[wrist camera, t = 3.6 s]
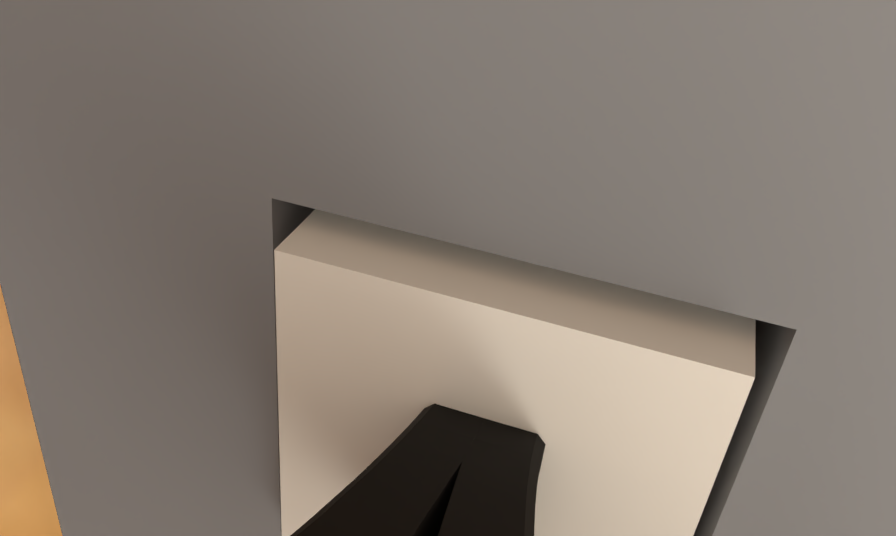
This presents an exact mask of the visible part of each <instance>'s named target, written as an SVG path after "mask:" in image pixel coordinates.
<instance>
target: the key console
mask: <svg viewBox="0 0 896 536" xmlns="http://www.w3.org/2000/svg"><path fill="white" fill-rule="evenodd" d="M315 209H317V210H321V211H325V212H329V213H333V214H337V215H341V216H345V217H349V218H353V219H357V220H361V221H365V222H369V223H373V224H377V225H381V226H385V227H389V228H393V229H397V230H401V231H405V232H409V233H413V234H417V235H421V236H425V237H429V238H433V239H437V240H441V241H445V242H449V243H453V244H457V245H461V246H465V247H469V248H472V249H476V250H480V251H484V252H488V253H492V254H496V255H500V256H504V257H508V258H512V259H516V260H520V261H524V262H528V263H532V264H536V265H540V266H544V267H548V268H552V269H556V270H560V271H564V272H568V273H572V274H576V275H580V276H584V277H588V278H592V279H596V280H600V281H604V282H608V283H612V284H616V285H620V286H624V287H628V288H632V289H636V290H640V291H644V292H648V293H652V294H656V295H660V296H664V297H668V298H672V299H676V300H680V301H684V302H688V303H692V304H696V305H700V306H704V307H708V308H712V309H716V310H720V311H724V312H728V313H732V314H736V315H740V316H744V317H748V318H752V319H756V339H755V379H754V382H753V384H752V387H751V390H750V392H749V395H748V397H747V400H746V402H745V405H744V407H743V410H742V413H741V415H740V418H739V420H738V423H737V425H736V428H735V430H734V433H733V436H732V438H731V441H730V443H729V446H728V448H727V451H726V454H725V456H724V459H723V461H722V464H721V466H720V469H719V471H718V474H717V477H716V479H715V482H714V484H713V487H712V489H711V492H710V494H709V497H708V500H707V502H706V505H705V507H704V510H703V512H702V515H701V517H700V520H699V523H698V525H697V528H696V530H695V533H694V535H693V536H896V0H0V285H1V289H2V293H3V297H4V301H5V305H6V309H7V313H8V317H9V321H10V325H11V329H12V333H13V337H14V341H15V345H16V349H17V353H18V357H19V361H20V365H21V369H22V373H23V377H24V381H25V386H26V390H27V394H28V398H29V402H30V406H31V410H32V414H33V418H34V422H35V426H36V430H37V434H38V438H39V442H40V446H41V450H42V454H43V458H44V462H45V466H46V470H47V474H48V478H49V482H50V487H51V491H52V495H53V499H54V503H55V507H56V511H57V515H58V519H59V523H60V527H61V531H62V535H63V536H282V529H281V491H280V452H279V413H278V375H277V336H276V297H275V259H274V250H275V249H276V248H277V247H278V246H279V245H280V244H281V243H282V242H283V241H284V240H285V239H286V238H287V237H288V236H289V235H290V234H291V233H292V232H293V231H294V230H295V229H296V228H297V227H298V226H299V225H300V224H301V223H302V222H303V221H304V220H305V219H306V218H307V217H308V216H309V215H310V214H311V213H312V212H313V211H314V210H315Z"/></svg>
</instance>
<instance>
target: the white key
mask: <svg viewBox="0 0 896 536" xmlns="http://www.w3.org/2000/svg"><path fill="white" fill-rule="evenodd" d="M274 259H275V297H276V336H277V375H278V413H279V452H280V491H281V529H282V536H290V535H292V534H293V533H294V532H295V531H296V530H298V529H299V528H300V527H301V526H302V525H304V524H305V523H306V522H307V521H308V520H309V519H310V518H312V517H313V516H314V515H315V514H316V513H317V512H318V511H319V510H321V509H322V508H323V507H324V506H325V505H326V504H327V503H328V502H330V501H331V500H332V499H333V498H334V497H335V496H336V495H337V494H339V493H340V492H341V491H342V490H343V489H344V488H345V487H346V486H347V485H349V484H350V483H351V482H352V481H353V480H354V479H355V478H356V477H357V476H358V475H360V474H361V473H362V472H363V471H364V470H365V469H366V468H367V467H368V466H369V465H370V464H371V463H372V462H373V461H374V460H375V459H376V458H377V457H378V456H379V455H380V454H381V453H382V452H383V451H384V450H385V449H386V448H387V447H388V446H389V445H390V444H391V443H392V442H393V441H394V440H395V439H396V438H397V437H398V436H399V435H400V434H401V433H402V432H403V431H404V430H405V429H406V428H407V427H408V426H409V425H410V424H411V423H412V421H413V420H414V419H415V418H416V417H417V416H418V415H419V414H420V413H421V411H422V410H423V409H424V408H426V407H428V406H430V405H432V404H438V405H441V406H445V407H448V408H452V409H455V410H458V411H462V412H465V413H468V414H472V415H475V416H479V417H482V418H485V419H489V420H492V421H495V422H499V423H502V424H506V425H509V426H513V427H516V428H520V429H523V430H526V431H530V432H533V433H537V434H538V435H539V436H540V437H541V439H542V440H543V442H544V443H545V444H546V445H545V450H544V454H543V459H542V463H541V468H540V472H539V477H538V483H537V493H536V504H535V526H534V536H693V535H694V533H695V530H696V528H697V525H698V523H699V520H700V517H701V515H702V512H703V510H704V507H705V505H706V502H707V500H708V497H709V494H710V492H711V489H712V487H713V484H714V482H715V479H716V477H717V474H718V471H719V469H720V466H721V464H722V461H723V459H724V456H725V454H726V451H727V448H728V446H729V443H730V441H731V438H732V436H733V433H734V430H735V428H736V425H737V423H738V420H739V418H740V415H741V413H742V410H743V407H744V405H745V402H746V400H747V397H748V395H749V392H750V390H751V387H752V384H753V382H754V379H755V339H756V319H752V318H748V317H744V316H740V315H736V314H732V313H728V312H724V311H720V310H716V309H712V308H708V307H704V306H700V305H696V304H692V303H688V302H684V301H680V300H676V299H672V298H668V297H664V296H660V295H656V294H652V293H648V292H644V291H640V290H636V289H632V288H628V287H624V286H620V285H616V284H612V283H608V282H604V281H600V280H596V279H592V278H588V277H584V276H580V275H576V274H572V273H568V272H564V271H560V270H556V269H552V268H548V267H544V266H540V265H536V264H532V263H528V262H524V261H520V260H516V259H512V258H508V257H504V256H500V255H496V254H492V253H488V252H484V251H480V250H476V249H472V248H469V247H465V246H461V245H457V244H453V243H449V242H445V241H441V240H437V239H433V238H429V237H425V236H421V235H417V234H413V233H409V232H405V231H401V230H397V229H393V228H389V227H385V226H381V225H377V224H373V223H369V222H365V221H361V220H357V219H353V218H349V217H345V216H341V215H337V214H333V213H329V212H325V211H321V210H317V209H315V210H314V211H313V212H312V213H311V214H310V215H309V216H308V217H307V218H306V219H305V220H304V221H303V222H302V223H301V224H300V225H299V226H298V227H297V228H296V229H295V230H294V231H293V232H292V233H291V234H290V235H289V236H288V237H287V238H286V239H285V240H284V241H283V242H282V243H281V244H280V245H279V246H278V247H277V248H276V249H275V250H274Z"/></svg>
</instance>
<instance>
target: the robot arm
mask: <svg viewBox="0 0 896 536" xmlns="http://www.w3.org/2000/svg"><path fill="white" fill-rule="evenodd" d="M545 445H546V444H545V443H544V442H543V440H542V439H541V437H540V436H539V435H538V434H537V433H533V432H530V431H526V430H523V429H520V428H516V427H513V426H509V425H506V424H502V423H499V422H495V421H492V420H489V419H485V418H482V417H479V416H475V415H472V414H468V413H465V412H462V411H458V410H455V409H452V408H448V407H445V406H441V405H438V404H432V405H430V406H428V407H426V408H424V409H423V410H422V411H421V413H420V414H419V415H418V416H417V417H416V418H415V419H414V420H413V421H412V423H411V424H410V425H409V426H408V427H407V428H406V429H405V430H404V431H403V432H402V433H401V434H400V435H399V436H398V437H397V438H396V439H395V440H394V441H393V442H392V443H391V444H390V445H389V446H388V447H387V448H386V449H385V450H384V451H383V452H382V453H381V454H380V455H379V456H378V457H377V458H376V459H375V460H374V461H373V462H372V463H371V464H370V465H369V466H368V467H367V468H366V469H365V470H364V471H363V472H362V473H361V474H360V475H358V476H357V477H356V478H355V479H354V480H353V481H352V482H351V483H350V484H349V485H347V486H346V487H345V488H344V489H343V490H342V491H341V492H340V493H339V494H337V495H336V496H335V497H334V498H333V499H332V500H331V501H330V502H328V503H327V504H326V505H325V506H324V507H323V508H322V509H321V510H319V511H318V512H317V513H316V514H315V515H314V516H313V517H312V518H310V519H309V520H308V521H307V522H306V523H305V524H304V525H302V526H301V527H300V528H299V529H298V530H296V531H295V532H294V533H293V534H292V535H290V536H534V526H535V504H536V493H537V483H538V477H539V472H540V468H541V463H542V459H543V454H544V450H545Z"/></svg>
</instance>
